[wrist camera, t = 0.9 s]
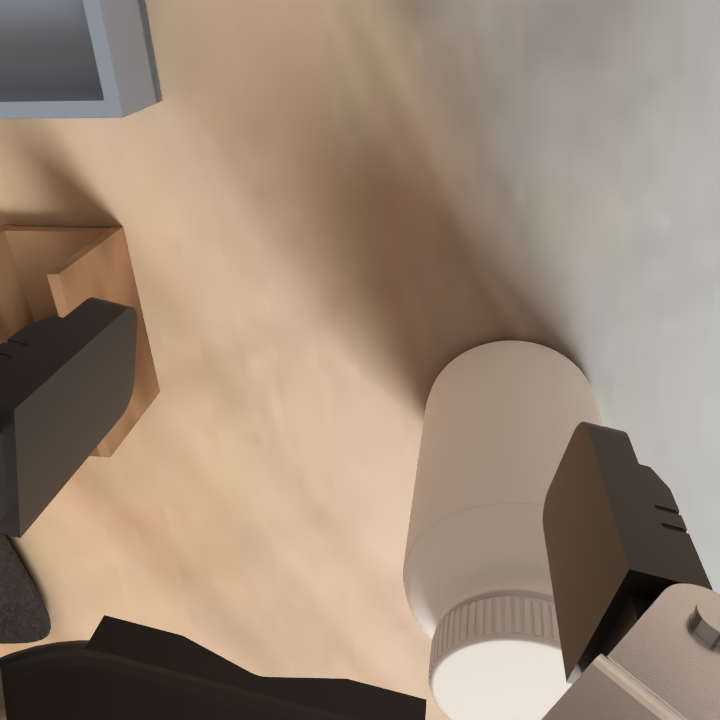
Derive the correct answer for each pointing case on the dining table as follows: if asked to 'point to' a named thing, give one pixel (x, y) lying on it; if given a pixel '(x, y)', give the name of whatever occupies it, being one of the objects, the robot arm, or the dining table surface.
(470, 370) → the pill bottle
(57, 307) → the channel
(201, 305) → the dining table surface
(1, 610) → the sushi plate
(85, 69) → the dish
